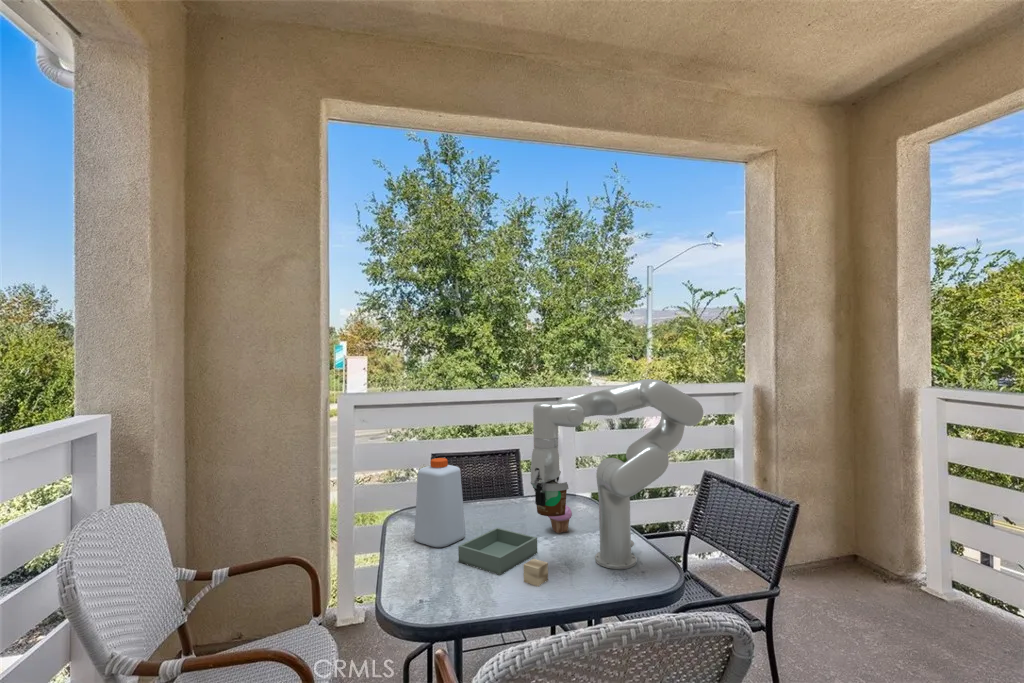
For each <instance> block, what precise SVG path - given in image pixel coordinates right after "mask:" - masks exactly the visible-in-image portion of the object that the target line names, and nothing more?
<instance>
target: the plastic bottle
mask: <svg viewBox="0 0 1024 683" xmlns="http://www.w3.org/2000/svg"><path fill="white" fill-rule="evenodd" d="M461 474H462V473H461V468H460V467H459V466H456V465H452V464H449V462H448V459H447V458H446V457H437V458H432V459H430V465H428V466H425V467H422V468H420V469H419V470H418V471H417V482H416V484H417V485H416V503H415V521H414V536H413V537H414V540H415V541H416V542H417V543H419V544H422V545H423V544H424V545H426V546H429V547H433V548H445V547H448V546H450V545H452V544H455V543H457V542H459V541H461V540H463V539H464V538H465V537H466V523H465V512H464V499H463V486H462V476H461Z"/></svg>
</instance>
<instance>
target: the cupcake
mask: <svg viewBox="0 0 1024 683" xmlns="http://www.w3.org/2000/svg"><path fill="white" fill-rule="evenodd" d="M572 516H573V512H572V509H571V507H570V506H568V505H567V504H566V507H565V515H562V516H555V517H550V516H547V517H548V518H549V520H550V523H551V528H552V530H553V532H555V533H557V534H560V533H561V534H562V533H567V532H568V531H569V526H570V525H569V522H570V519H572Z"/></svg>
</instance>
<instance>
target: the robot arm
mask: <svg viewBox="0 0 1024 683" xmlns="http://www.w3.org/2000/svg"><path fill="white" fill-rule="evenodd" d="M647 407H650V408H654V409H656V410H657V411H659V412H661V414H660V415H661V416H660V419H659V422H658V424H657V425H656V426H655V427H654V428H652V429H651V430H650V431H649V432H647V433H645V434H644V435H643V436H641V437H640V438H638V439H637V440H635V441H634V442H632V443H631V444H630V445H629V446H628V448H627V449H626V452H625V453H626V454H625V458H626V461H625V462H624V461H623V460H621V459H619V458H615V457H607V458H604V459H603V460H601V461H600V462H599V464H598V466H597V469H596V472H595V474H596V475H595V478H596V485H597V492H598V522H599V524H598V526H599V530H598V531H599V552H596V554H595V556H594V558H595V559H594V560H595V563H597V564H598V565H599V566H600V567H604V568H607V569H611V570H624V569H625V570H626V569H630V568H633V567H634V566H636V564H637V557H636V556H635V555H634V554H633V553H632V547H634V546H635V543H634V541H633V540H632V539H631V537H632V536H631V535H632V533H631V499H630V498H631V497H633V496H635V495H636V494H638V493H639V492H641V491H642V490H644V489H645V488H647V487H648V486H649V485H651V484H652V483H654V482H655V481H657V480H658V479H659V478H661V476H663V475H664V474H665V472H666V471H667V469H668V467H669V463H670V459H669V455H668V454H669V453H670V452H672V451H673V450H675V449H676V448H677V446H679V444H680V443H681V441H682V438H683V436H684V431H685V428H686V427H693V426H696V425H698V424H699V423H700V422H701V421H702V419H703V417H704V409H703V406H702V404H701V403H700V402H699V401H698V400H697V399H695V398H694V397H692V396H690V395H688V394H687V393H685V392H684V391H683V392H682V391H681V390H679V389H677V388H676V387H674V386H672V385H670V384H668V383H667V382H664V381H663V380H658V379H653V378H645V379H640V380H636V381H633V382H629V383H625V384H622V385H619V386H614V387H610V388H606V389H605V388H604V389H601V390H597V391H592V392H587V393H584V394H583V393H582V394H579V395H575V396H571V397H568V398H564V399H561V400H560V401H558V402H557V403H554V402H547V401H546V402H543V401H542V402H537V403H535V404H534V405H533V408H532V412H533V413H532V414H533V415H532V416H533V417H532V418H533V424H532V425H533V449H532V451H531V452H532V453H531V461H530V462H531V463H530V484H531V486H532V488H533V492H535V494H534V497H535V498H534V499H535V502H534V504H535V505H536V506H537V505H540V506H545V492H544V488H545V483H546V482H549V481H554V482H557V483H559V480H560V476H561V470H560V455H559V427H565V428H575V427H579V426H580V425H581V424H583V422H584V421H585V418H589V417H594V416H607V417H608V416H609V417H610V416H619V415H623V414H625V413H628V412H632V411H636V410H640V409H643V408H647ZM539 479H540V480H542V481H539ZM539 484H542V485H541V487H540V485H539Z"/></svg>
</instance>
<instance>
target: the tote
mask: <svg viewBox="0 0 1024 683" xmlns="http://www.w3.org/2000/svg"><path fill="white" fill-rule="evenodd" d="M536 553H537V554H538V537H536V536H533V535H528V534H526V533H525V534H524V533H520V532H518V531H517V532H516V531H511V530H509V529H508V530H507V529H504V528H499V527H496V528H493V529H492V530H489V531H487V532H485V533H483V534H481V535H478V536H476V537H475V538H472V539H470V540H468V541H466V542H464V543H462V544H459V545H458V562H459V563H461V562H462V563H461V564H464V563H465V564H464V565H467V564H468V565H467V566H470V565H471V567H473V566H475V567H474V568H476V567H478V568H477V569H480V568H481V569H480V570H483V569H484V570H483V571H486V570H487V572H489V571H490V573H492V572H493V574H495V573H496V575H499V576H501V575H503V574H505V573H506V572H508V571H510V570H511V569H513V568H514V566H515V567H516V565H517V566H518V565H520V564H522V563H523V562H525V561H526V559H527V560H528V559H530V558H531V556H532V557H533V556H535V555H537V554H536ZM534 554H535V555H534ZM529 557H530V558H529ZM524 560H525V561H524ZM521 562H522V563H521ZM519 563H520V564H519ZM509 569H510V570H509ZM504 572H505V573H504Z"/></svg>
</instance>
